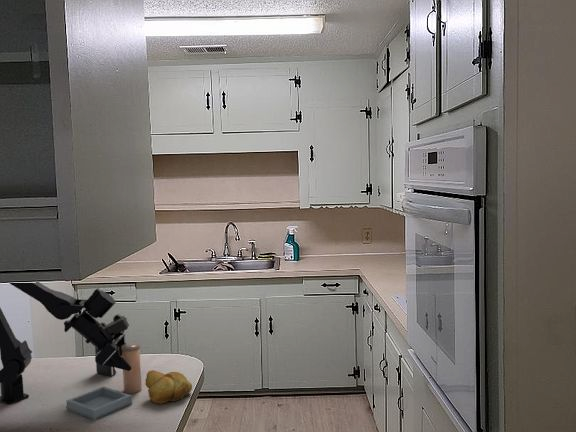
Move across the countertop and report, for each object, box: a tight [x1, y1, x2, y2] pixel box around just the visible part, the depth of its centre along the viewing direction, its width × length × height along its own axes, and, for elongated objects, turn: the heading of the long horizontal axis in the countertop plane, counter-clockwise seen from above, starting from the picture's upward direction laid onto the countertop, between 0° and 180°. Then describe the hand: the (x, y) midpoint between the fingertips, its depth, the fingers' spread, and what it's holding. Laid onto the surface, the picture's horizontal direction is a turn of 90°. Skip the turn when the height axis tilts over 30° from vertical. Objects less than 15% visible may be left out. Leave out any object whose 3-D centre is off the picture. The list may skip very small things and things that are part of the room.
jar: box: [121, 342, 143, 394], centre depth 170 cm, size 5×5×13 cm
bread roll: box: [145, 370, 193, 404], centre depth 164 cm, size 13×10×8 cm
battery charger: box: [94, 346, 117, 377], centre depth 184 cm, size 7×4×11 cm, turn 58°
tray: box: [66, 386, 133, 421], centre depth 159 cm, size 12×12×2 cm
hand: (132, 364), depth 170 cm, fingers open, 9 cm apart
